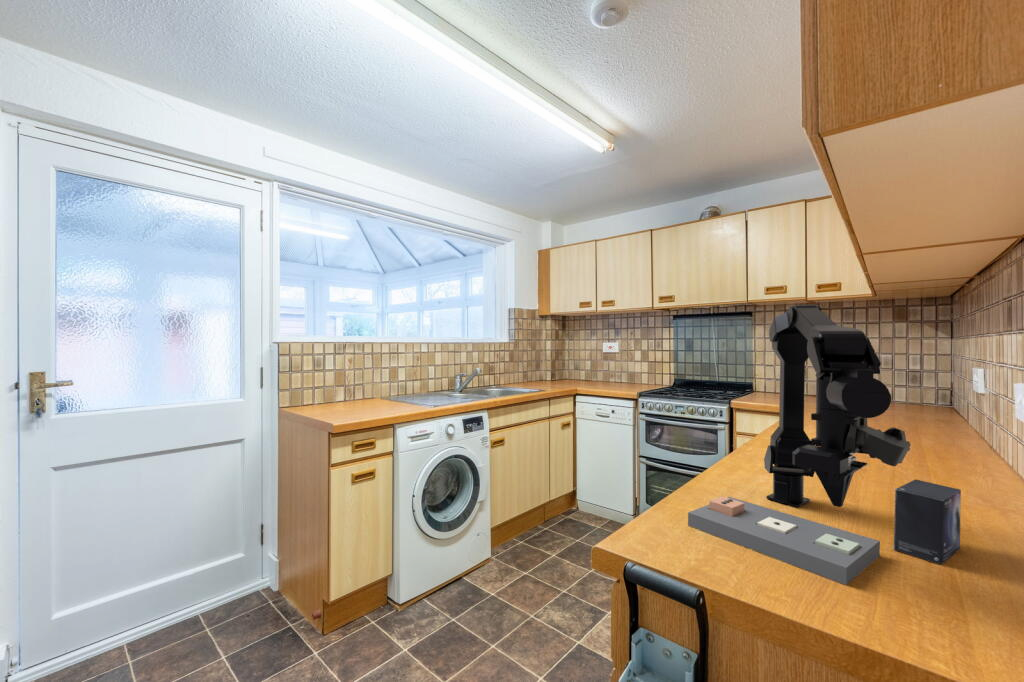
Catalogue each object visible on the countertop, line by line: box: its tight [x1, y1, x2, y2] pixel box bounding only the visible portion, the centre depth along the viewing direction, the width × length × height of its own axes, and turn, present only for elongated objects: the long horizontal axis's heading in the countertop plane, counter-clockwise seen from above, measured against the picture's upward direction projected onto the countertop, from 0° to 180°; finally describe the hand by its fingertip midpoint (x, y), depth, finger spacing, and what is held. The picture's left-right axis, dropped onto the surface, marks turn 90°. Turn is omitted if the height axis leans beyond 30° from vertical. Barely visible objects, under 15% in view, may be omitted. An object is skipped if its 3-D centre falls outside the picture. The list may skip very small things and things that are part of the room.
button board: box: [687, 496, 881, 586], centre depth 77 cm, size 15×25×2 cm, turn 36°
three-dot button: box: [708, 496, 744, 517], centre depth 85 cm, size 4×4×3 cm
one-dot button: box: [757, 517, 796, 534], centre depth 77 cm, size 4×4×3 cm
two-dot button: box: [815, 534, 859, 556], centre depth 70 cm, size 4×4×3 cm
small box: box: [893, 479, 962, 566], centre depth 74 cm, size 11×6×10 cm, turn 123°
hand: (837, 505), depth 70 cm, fingers closed
